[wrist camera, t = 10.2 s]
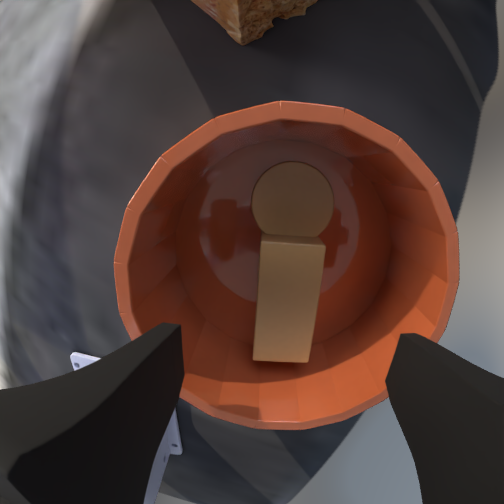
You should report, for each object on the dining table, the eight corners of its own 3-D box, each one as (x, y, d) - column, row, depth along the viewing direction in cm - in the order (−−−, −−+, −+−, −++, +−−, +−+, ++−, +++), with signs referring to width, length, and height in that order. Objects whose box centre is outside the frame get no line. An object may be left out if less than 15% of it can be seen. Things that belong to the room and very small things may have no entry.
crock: (370, 350, 17) (406, 421, 11) (174, 340, 17) (138, 413, 11) (404, 147, 14) (478, 140, 7) (172, 128, 14) (113, 104, 8)
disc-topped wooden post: (310, 331, 16) (318, 363, 13) (245, 328, 16) (241, 360, 13) (330, 165, 13) (346, 164, 11) (254, 159, 14) (251, 156, 11)
